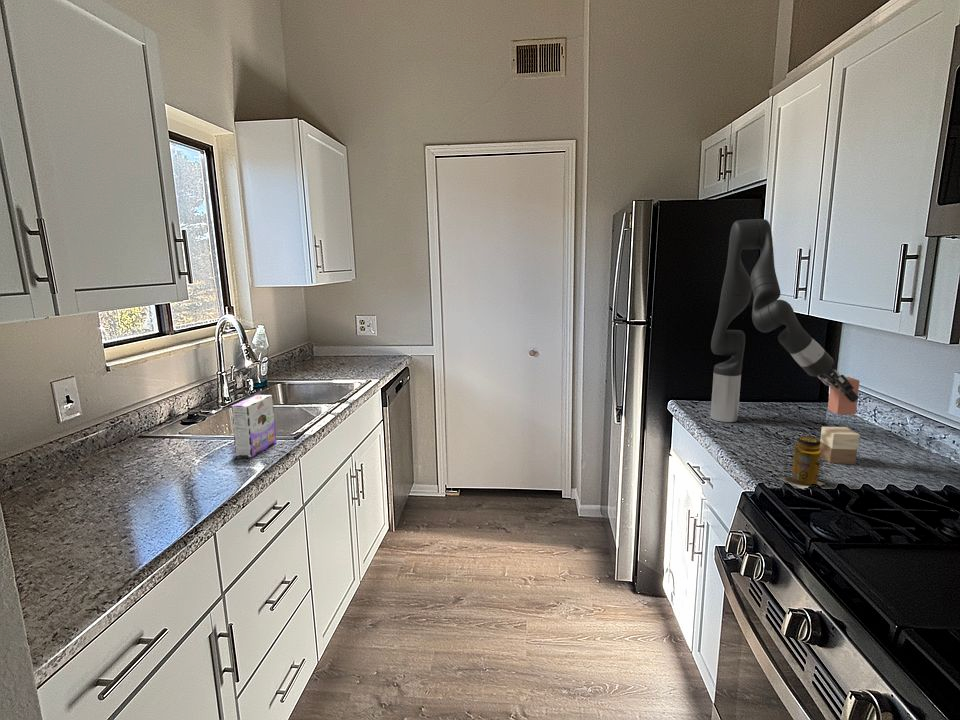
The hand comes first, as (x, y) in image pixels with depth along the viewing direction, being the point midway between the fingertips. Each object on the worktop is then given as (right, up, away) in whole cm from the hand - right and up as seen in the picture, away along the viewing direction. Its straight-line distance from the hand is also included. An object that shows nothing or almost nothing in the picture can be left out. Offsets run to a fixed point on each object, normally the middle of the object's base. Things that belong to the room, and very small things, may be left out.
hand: (849, 397), depth 158 cm
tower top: (-1, -14, +3) cm, 15 cm away
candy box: (-179, -18, +16) cm, 180 cm away
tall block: (-2, -4, +1) cm, 5 cm away
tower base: (-2, -19, +4) cm, 19 cm away
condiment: (-21, -22, -12) cm, 33 cm away
